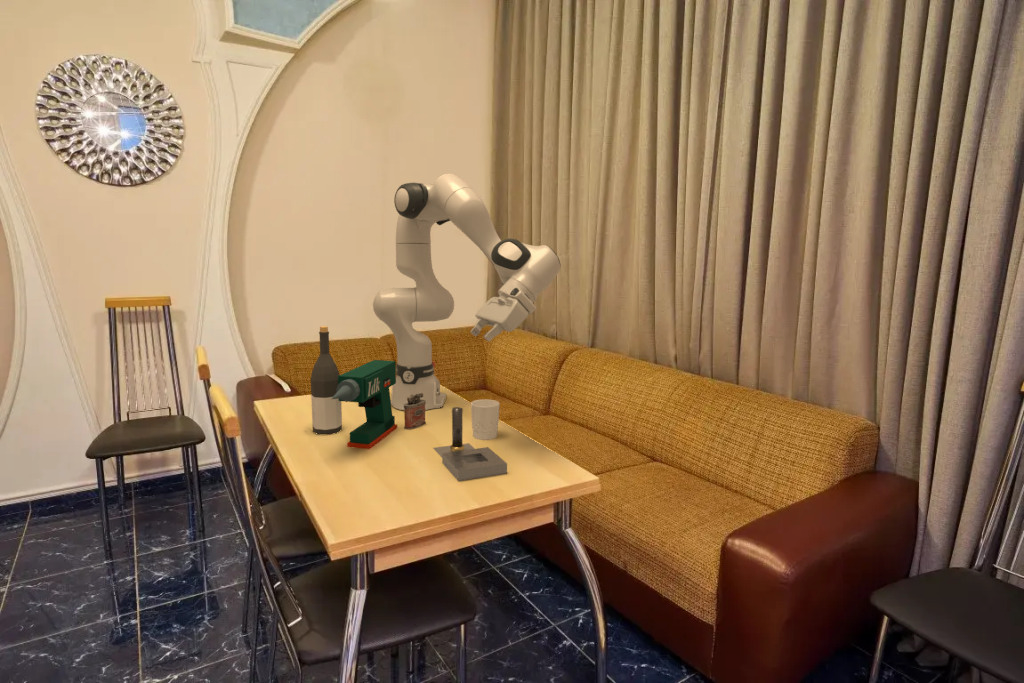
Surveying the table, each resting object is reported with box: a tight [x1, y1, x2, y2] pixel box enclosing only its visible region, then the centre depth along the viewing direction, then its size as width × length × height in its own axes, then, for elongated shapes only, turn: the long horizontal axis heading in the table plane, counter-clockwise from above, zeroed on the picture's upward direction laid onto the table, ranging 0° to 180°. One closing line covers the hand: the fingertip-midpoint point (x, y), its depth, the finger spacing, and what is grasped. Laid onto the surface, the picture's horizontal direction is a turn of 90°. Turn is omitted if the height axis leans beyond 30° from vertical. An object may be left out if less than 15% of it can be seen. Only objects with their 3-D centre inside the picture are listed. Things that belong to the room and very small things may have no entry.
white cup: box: [470, 398, 501, 441], centre depth 165 cm, size 8×8×10 cm
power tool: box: [332, 359, 398, 450], centre depth 156 cm, size 32×7×20 cm, turn 168°
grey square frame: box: [441, 446, 508, 482], centre depth 142 cm, size 12×12×3 cm
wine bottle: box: [310, 325, 343, 435], centre depth 167 cm, size 8×8×30 cm
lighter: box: [403, 393, 427, 431], centre depth 173 cm, size 8×3×10 cm, turn 147°
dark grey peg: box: [449, 406, 464, 452], centre depth 152 cm, size 4×4×12 cm
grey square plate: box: [433, 442, 476, 458], centre depth 153 cm, size 10×10×1 cm
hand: (479, 336), depth 152 cm, fingers open, 8 cm apart
